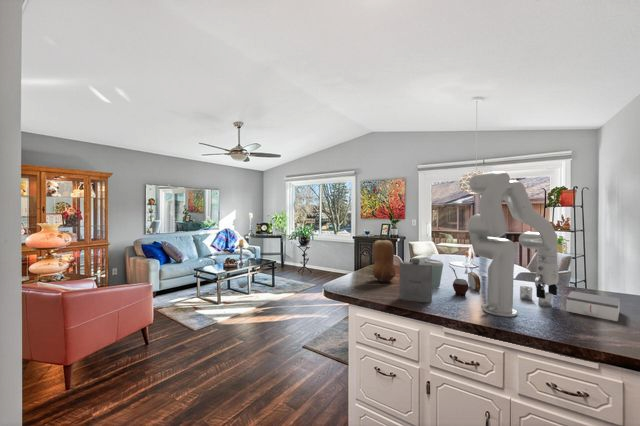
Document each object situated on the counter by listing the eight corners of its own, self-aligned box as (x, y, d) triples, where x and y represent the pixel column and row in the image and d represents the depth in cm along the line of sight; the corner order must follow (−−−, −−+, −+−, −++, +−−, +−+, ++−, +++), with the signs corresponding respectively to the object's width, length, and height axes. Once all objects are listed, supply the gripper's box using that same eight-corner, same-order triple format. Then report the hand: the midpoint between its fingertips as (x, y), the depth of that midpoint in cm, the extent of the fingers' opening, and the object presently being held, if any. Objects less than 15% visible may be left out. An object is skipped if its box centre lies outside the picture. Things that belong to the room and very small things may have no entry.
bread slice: (481, 292, 159) (481, 276, 159) (474, 292, 160) (475, 276, 159) (472, 285, 174) (472, 270, 174) (466, 285, 174) (467, 270, 174)
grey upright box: (398, 299, 145) (399, 258, 144) (399, 296, 150) (400, 256, 150) (431, 303, 139) (432, 260, 139) (431, 300, 145) (432, 258, 145)
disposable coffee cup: (444, 286, 171) (445, 259, 171) (441, 290, 162) (441, 262, 162) (425, 283, 177) (426, 258, 176) (421, 287, 168) (421, 260, 167)
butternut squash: (382, 277, 190) (382, 238, 189) (400, 282, 179) (400, 240, 179) (367, 281, 181) (368, 239, 180) (385, 285, 170) (386, 241, 170)
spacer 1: (528, 301, 144) (528, 288, 144) (517, 298, 149) (517, 286, 149) (534, 300, 147) (534, 287, 147) (523, 297, 151) (523, 285, 151)
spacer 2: (548, 308, 134) (548, 295, 134) (536, 305, 139) (536, 292, 139) (554, 307, 136) (554, 293, 136) (542, 303, 141) (542, 291, 141)
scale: (617, 322, 119) (618, 306, 119) (565, 311, 130) (566, 297, 130) (619, 312, 131) (619, 298, 130) (571, 303, 142) (571, 290, 142)
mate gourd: (471, 296, 151) (471, 267, 150) (459, 298, 148) (459, 268, 148) (459, 292, 158) (459, 264, 157) (447, 294, 155) (448, 265, 155)
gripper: (545, 262, 130) (545, 301, 131) (566, 258, 138) (566, 295, 138) (526, 259, 137) (526, 296, 137) (548, 255, 144) (548, 291, 145)
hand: (546, 295), depth 138 cm, fingers open, 9 cm apart
